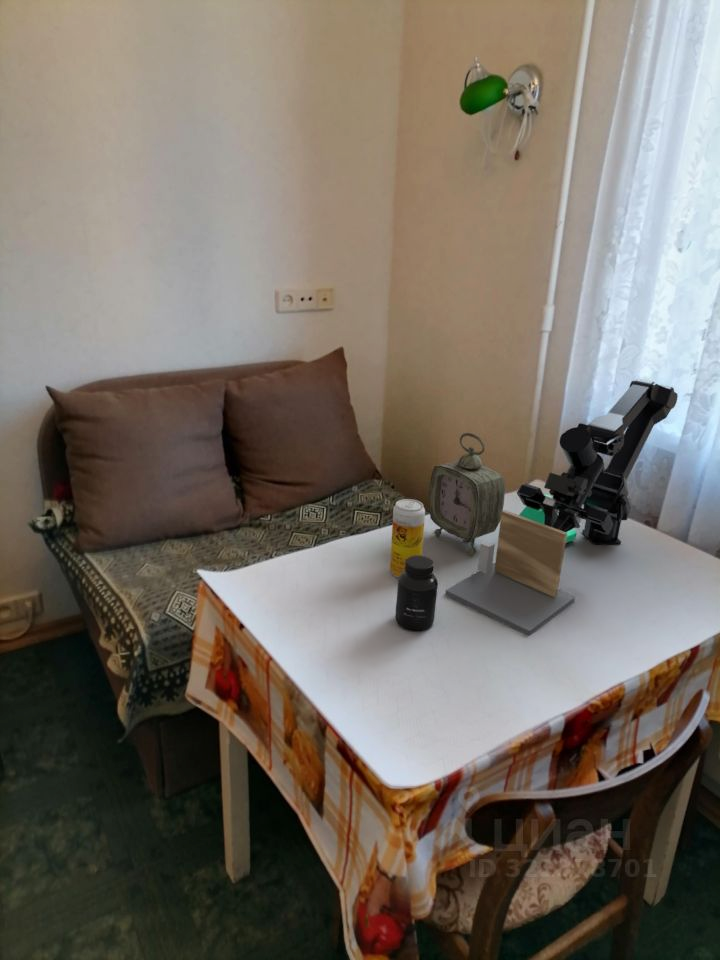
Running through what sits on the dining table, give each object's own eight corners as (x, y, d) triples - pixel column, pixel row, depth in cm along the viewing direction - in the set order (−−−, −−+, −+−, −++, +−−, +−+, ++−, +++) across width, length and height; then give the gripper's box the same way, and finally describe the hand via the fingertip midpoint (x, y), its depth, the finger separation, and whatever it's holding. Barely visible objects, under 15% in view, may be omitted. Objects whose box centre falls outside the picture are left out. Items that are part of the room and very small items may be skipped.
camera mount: (576, 542, 148) (584, 500, 145) (554, 551, 144) (561, 507, 140) (534, 523, 157) (540, 482, 154) (512, 530, 153) (518, 489, 149)
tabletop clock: (425, 534, 149) (434, 427, 140) (455, 525, 154) (464, 421, 145) (472, 561, 138) (484, 447, 129) (502, 550, 144) (515, 439, 134)
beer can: (385, 576, 131) (389, 507, 126) (395, 563, 137) (399, 496, 131) (414, 583, 129) (420, 513, 124) (424, 569, 134) (429, 501, 129)
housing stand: (491, 566, 137) (495, 535, 134) (574, 601, 125) (579, 568, 122) (443, 593, 126) (446, 561, 123) (528, 635, 114) (534, 600, 112)
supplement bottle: (408, 637, 113) (412, 575, 108) (388, 616, 118) (391, 556, 114) (441, 627, 116) (447, 566, 111) (420, 607, 121) (425, 549, 117)
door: (497, 569, 133) (504, 510, 128) (557, 595, 124) (567, 532, 120) (494, 571, 132) (501, 511, 127) (554, 597, 124) (564, 534, 119)
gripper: (527, 445, 133) (490, 510, 130) (617, 470, 121) (578, 543, 118) (542, 473, 141) (507, 535, 138) (628, 499, 129) (592, 568, 126)
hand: (543, 544), depth 130 cm, fingers closed
